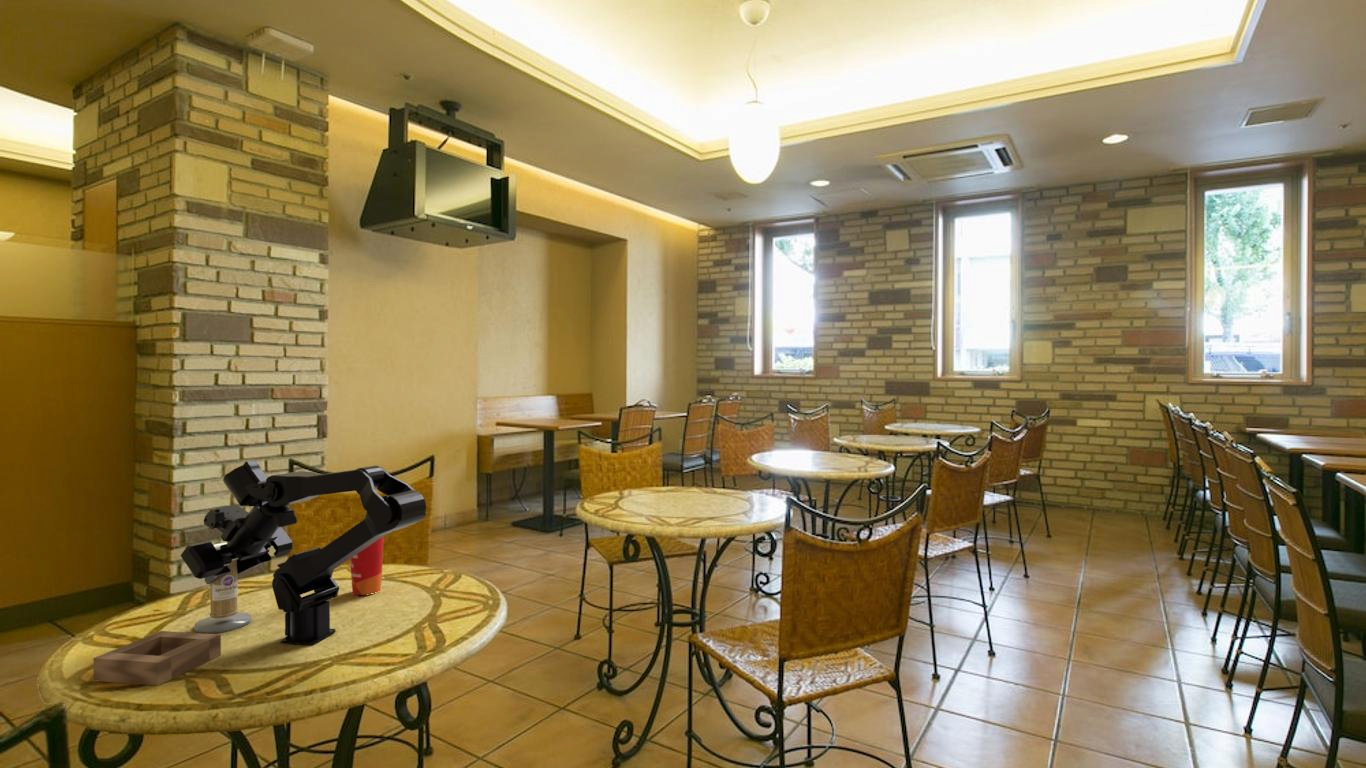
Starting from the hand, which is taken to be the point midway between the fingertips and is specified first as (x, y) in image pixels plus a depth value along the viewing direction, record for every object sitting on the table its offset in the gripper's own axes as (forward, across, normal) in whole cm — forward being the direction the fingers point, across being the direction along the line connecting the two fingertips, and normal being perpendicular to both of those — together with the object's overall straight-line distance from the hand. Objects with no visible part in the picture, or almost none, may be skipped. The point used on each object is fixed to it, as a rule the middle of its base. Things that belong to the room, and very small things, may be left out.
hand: (218, 578), depth 129 cm
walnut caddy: (-1, +17, +13) cm, 22 cm away
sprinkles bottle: (+4, 0, +6) cm, 7 cm away
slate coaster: (+5, 0, +7) cm, 9 cm away
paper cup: (-2, -25, +15) cm, 29 cm away
